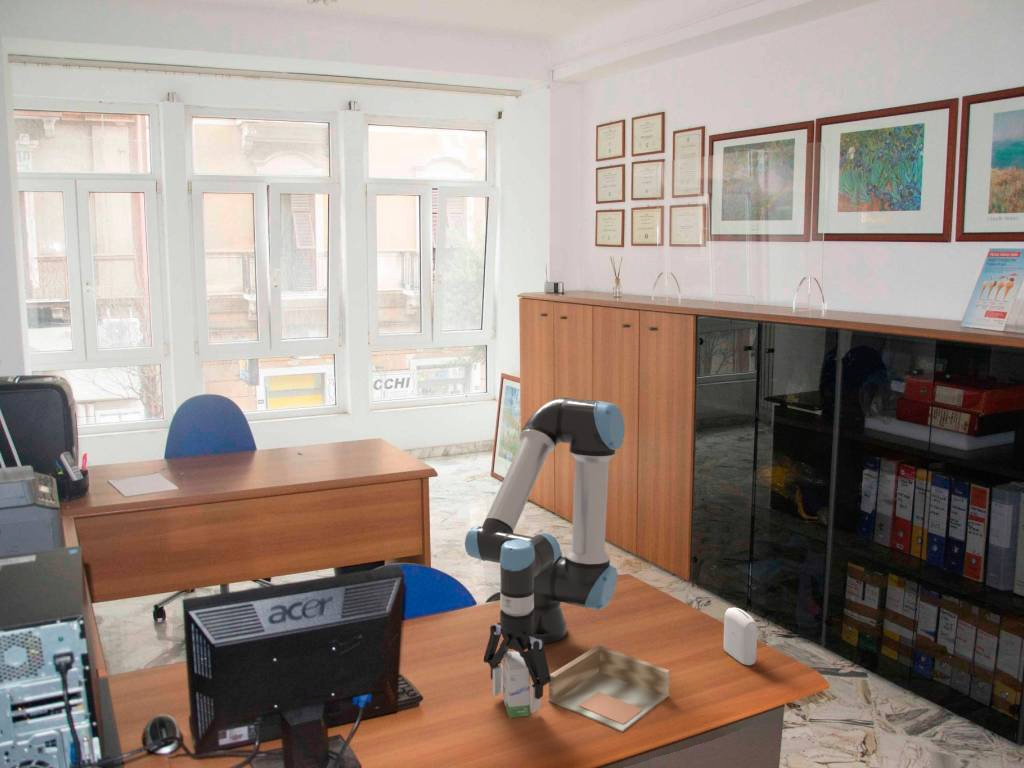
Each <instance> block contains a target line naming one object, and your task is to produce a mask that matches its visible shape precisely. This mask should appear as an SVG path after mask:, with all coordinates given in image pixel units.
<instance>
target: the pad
mask: <svg viewBox="0 0 1024 768" xmlns="http://www.w3.org/2000/svg"><path fill="white" fill-rule="evenodd" d="M579 707H582V708H584V709H587V710H589V711H591V712H594V713H596V714H599V715H601V716H603V717H606V718H608V719H611V720H613V721H615V722H618V723H620V724H623V725H624V724H625V723H626V722H628V721H629V720H630V719H632V718H633V717H634V716H636V715H637V714H638V713H639V712H641V711H642V710H643V709H641V708H638V707H636V706H633V705H631V704H628V703H626V702H623V701H621V700H618V699H616V698H613V697H610V696H608V695H605V694H603V693H600V692H597V693H596V694H594V695H593V696H591V697H590V698H589V699H587V700H586V701H584V702H583V703H581V704H580V705H579Z"/></svg>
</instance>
